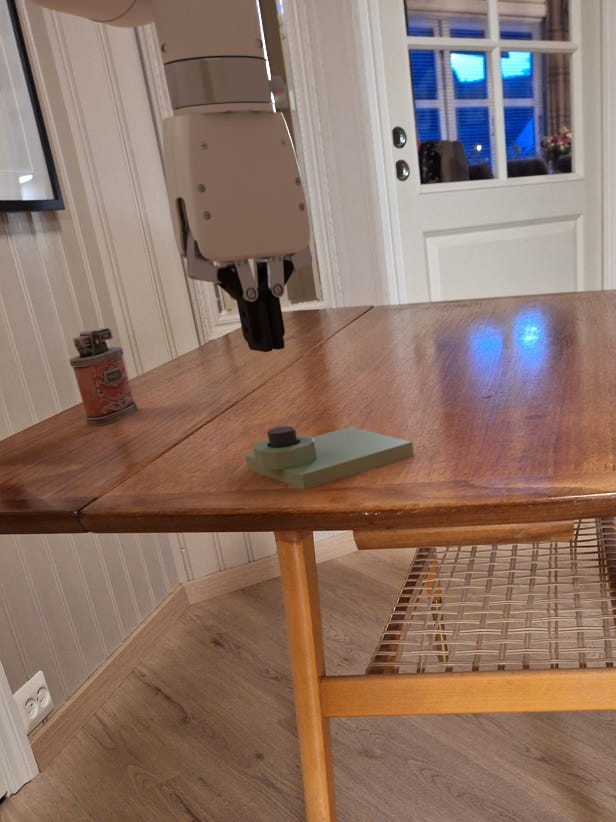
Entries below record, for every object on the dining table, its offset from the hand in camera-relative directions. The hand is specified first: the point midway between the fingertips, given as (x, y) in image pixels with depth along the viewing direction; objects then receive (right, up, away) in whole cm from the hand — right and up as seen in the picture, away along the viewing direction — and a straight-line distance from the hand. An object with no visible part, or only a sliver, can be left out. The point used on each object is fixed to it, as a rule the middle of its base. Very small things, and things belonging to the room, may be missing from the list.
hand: (266, 348), depth 73 cm
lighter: (-27, +2, +32) cm, 42 cm away
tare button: (+1, -7, +4) cm, 8 cm away
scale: (+4, -8, +8) cm, 12 cm away
